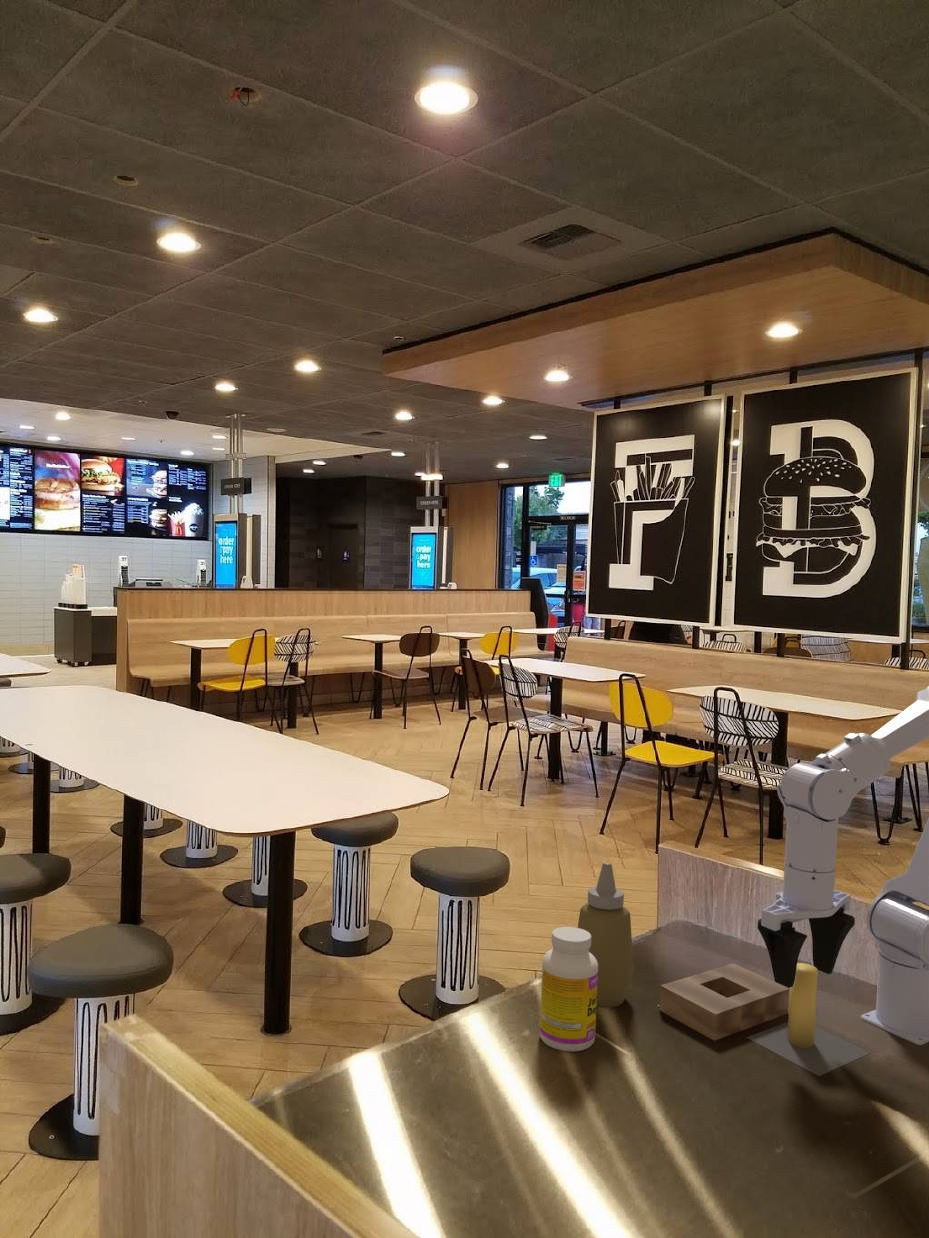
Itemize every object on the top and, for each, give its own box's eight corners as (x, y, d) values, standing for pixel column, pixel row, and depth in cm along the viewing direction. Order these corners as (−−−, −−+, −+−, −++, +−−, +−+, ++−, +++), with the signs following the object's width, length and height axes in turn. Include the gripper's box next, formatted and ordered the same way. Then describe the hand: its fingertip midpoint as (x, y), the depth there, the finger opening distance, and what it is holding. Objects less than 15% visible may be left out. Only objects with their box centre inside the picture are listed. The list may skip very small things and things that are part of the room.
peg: (797, 1033, 113) (801, 960, 112) (819, 1043, 110) (823, 970, 110) (782, 1039, 111) (785, 966, 111) (803, 1050, 108) (807, 975, 108)
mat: (797, 1020, 117) (798, 1017, 117) (870, 1055, 108) (870, 1052, 108) (746, 1039, 111) (746, 1037, 111) (818, 1078, 103) (818, 1075, 103)
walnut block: (731, 988, 125) (733, 963, 125) (787, 1015, 118) (789, 988, 118) (659, 1012, 118) (660, 985, 117) (714, 1042, 110) (715, 1014, 110)
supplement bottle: (593, 1057, 106) (597, 947, 105) (536, 1049, 107) (540, 941, 106) (596, 1030, 112) (601, 926, 112) (542, 1023, 113) (546, 920, 113)
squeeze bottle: (641, 996, 122) (647, 862, 121) (617, 1019, 115) (624, 878, 114) (586, 980, 126) (591, 851, 125) (560, 1001, 119) (565, 865, 119)
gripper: (817, 849, 117) (811, 953, 118) (742, 864, 109) (736, 977, 109) (868, 864, 111) (862, 974, 112) (793, 882, 103) (787, 1000, 104)
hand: (803, 977), depth 110 cm, fingers open, 7 cm apart
